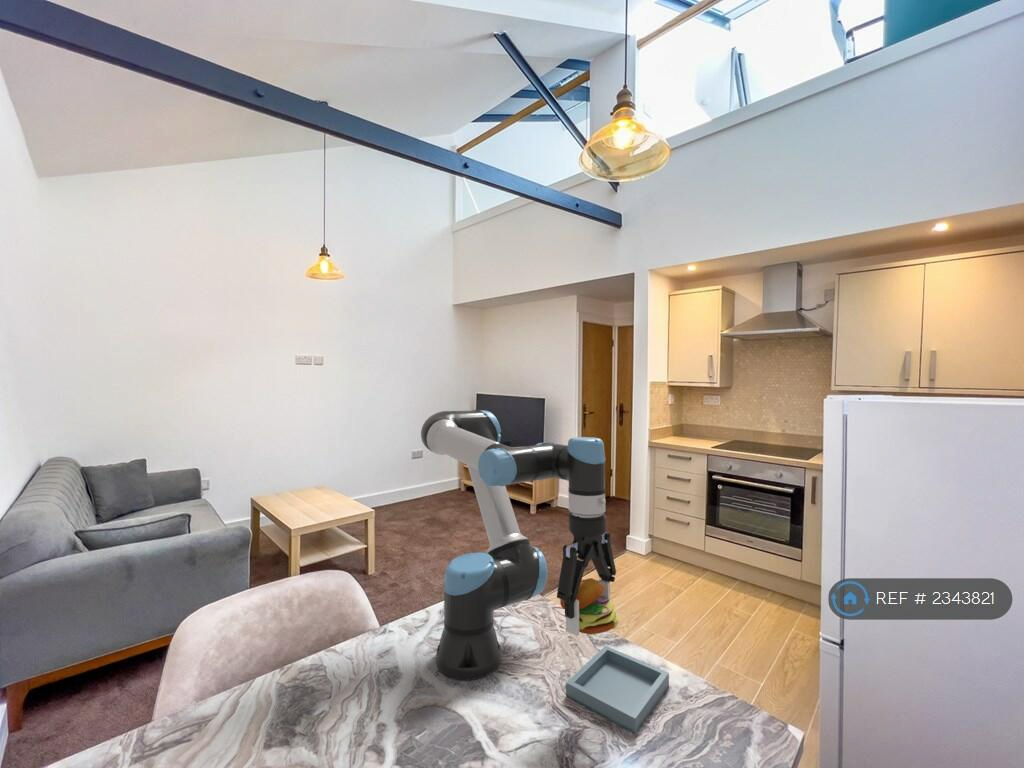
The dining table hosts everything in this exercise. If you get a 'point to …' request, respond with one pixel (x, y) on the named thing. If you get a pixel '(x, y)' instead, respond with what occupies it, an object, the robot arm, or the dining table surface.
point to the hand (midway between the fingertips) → (588, 622)
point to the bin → (618, 688)
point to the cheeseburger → (594, 608)
